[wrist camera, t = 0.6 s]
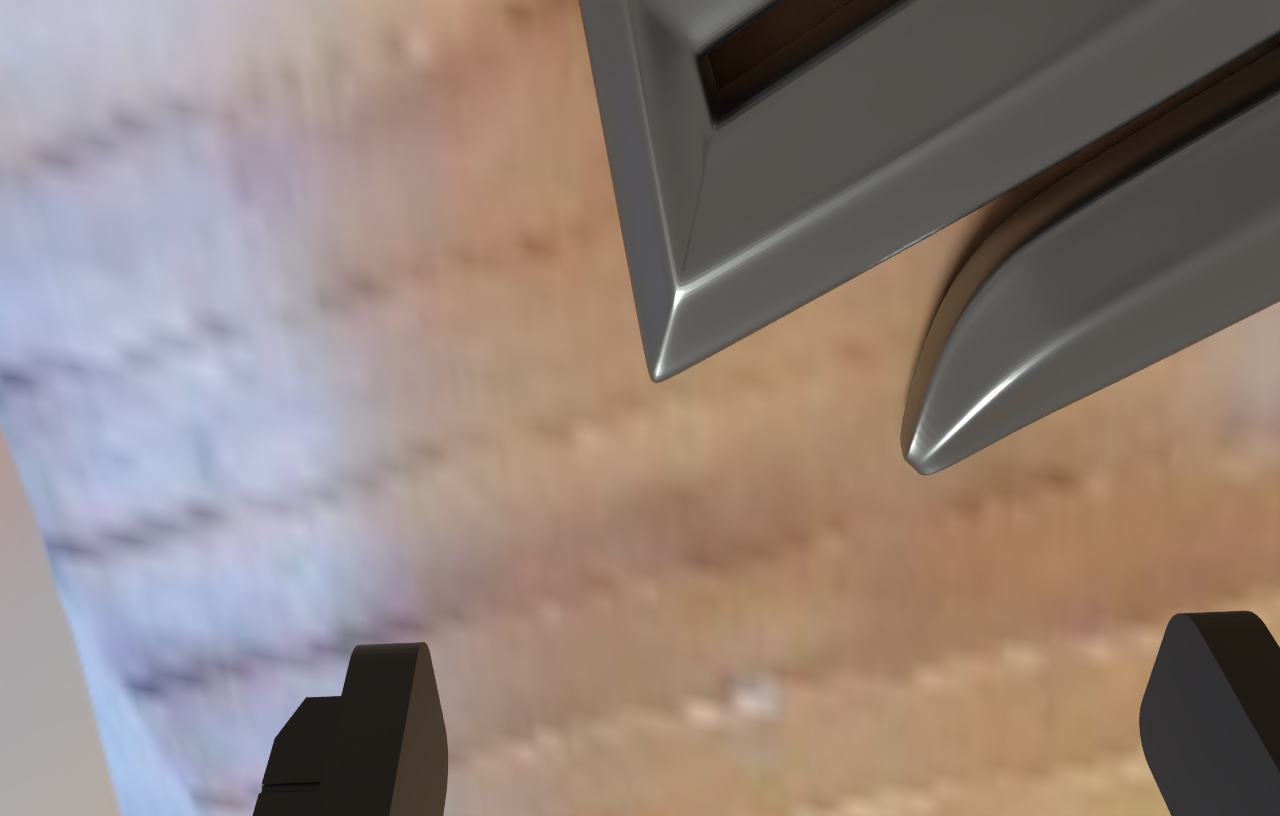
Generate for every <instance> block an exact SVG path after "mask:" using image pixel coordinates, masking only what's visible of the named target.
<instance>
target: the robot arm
mask: <svg viewBox="0 0 1280 816" xmlns="http://www.w3.org/2000/svg"><path fill="white" fill-rule="evenodd" d="M1139 726H1140V737H1141V742H1142V747H1143V751H1144V755H1145V758H1146V761H1147V763H1148V765H1149V768H1150V770H1151V772H1152V774H1153V777H1154V779H1155V781H1156V783H1157V785H1158V787H1159V790H1160V792H1161V794H1162V796H1163V798H1164V800H1165V803H1166V805H1167V807H1168V809H1169V811H1170V814H1171V816H1280V647H1279V646H1278V644H1277V643H1276V641H1275V639H1274V638H1273V636H1272V635H1271V633H1270V632H1269V630H1268V628H1267V627H1266V625H1265V624H1264V623H1263V621H1262V620H1261V619H1260V618H1259V617H1258V616H1257V615H1256V614H1254V613H1253V612H1250V611H1228V612H1204V613H1180V614H1176V615H1174V616H1173V617H1172V618H1171V619H1170V621H1169V623H1168V625H1167V628H1166V631H1165V634H1164V637H1163V640H1162V643H1161V646H1160V649H1159V652H1158V655H1157V658H1156V661H1155V664H1154V667H1153V670H1152V673H1151V676H1150V679H1149V682H1148V685H1147V688H1146V691H1145V694H1144V697H1143V700H1142V703H1141V707H1140V717H1139ZM447 779H448V746H447V735H446V729H445V724H444V719H443V714H442V709H441V704H440V700H439V695H438V690H437V685H436V680H435V675H434V670H433V665H432V661H431V656H430V652H429V648H428V646H427V644H426V643H425V642H419V643H395V644H371V645H357V646H356V647H355V648H354V650H353V652H352V655H351V658H350V662H349V666H348V670H347V674H346V678H345V683H344V687H343V691H342V695H341V696H331V697H307V698H305V700H304V701H303V702H302V703H301V705H300V706H299V707H298V709H297V710H296V711H295V713H294V714H293V715H292V717H291V718H290V719H289V721H288V722H287V723H286V724H285V726H284V727H283V728H282V730H281V731H280V732H279V734H278V735H277V736H276V738H275V740H274V743H273V747H272V750H271V754H270V757H269V761H268V764H267V767H266V771H265V774H264V778H263V781H262V792H261V793H259V795H258V799H257V802H256V806H255V809H254V813H253V816H443V813H444V806H445V798H446V790H447Z"/></svg>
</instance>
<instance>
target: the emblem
mask: <svg viewBox="0 0 1280 816" xmlns="http://www.w3.org/2000/svg"><path fill="white" fill-rule="evenodd" d="M783 1H784V0H579V5H580V10H581V16H582V21H583V27H584V32H585V37H586V43H587V48H588V53H589V59H590V64H591V70H592V75H593V80H594V86H595V91H596V97H597V102H598V107H599V113H600V118H601V124H602V129H603V134H604V140H605V145H606V150H607V156H608V161H609V167H610V172H611V177H612V183H613V188H614V194H615V199H616V204H617V210H618V215H619V221H620V226H621V231H622V237H623V242H624V247H625V253H626V258H627V264H628V269H629V274H630V280H631V285H632V291H633V296H634V301H635V307H636V312H637V318H638V323H639V328H640V334H641V339H642V344H643V349H644V354H645V359H646V364H647V368H648V372H649V376H650V378H651V380H652V381H653V382H654V383H659V382H662V381H665V380H667V379H669V378H671V377H673V376H675V375H677V374H679V373H681V372H683V371H685V370H687V369H689V368H690V367H692V366H694V365H696V364H698V363H700V362H702V361H703V360H705V359H707V358H709V357H711V356H713V355H714V354H716V353H718V352H720V351H722V350H724V349H725V348H727V347H729V346H731V345H733V344H735V343H736V342H738V341H740V340H742V339H744V338H746V337H747V336H749V335H751V334H753V333H755V332H757V331H758V330H760V329H762V328H764V327H766V326H767V325H769V324H771V323H773V322H775V321H777V320H778V319H780V318H782V317H784V316H786V315H788V314H789V313H791V312H793V311H795V310H797V309H799V308H800V307H802V306H804V305H806V304H808V303H809V302H811V301H813V300H815V299H817V298H819V297H820V296H822V295H824V294H826V293H828V292H829V291H831V290H833V289H835V288H837V287H839V286H840V285H842V284H844V283H846V282H848V281H849V280H851V279H853V278H855V277H857V276H859V275H860V274H862V273H864V272H866V271H868V270H869V269H871V268H873V267H875V266H877V265H878V264H880V263H882V262H884V261H886V260H888V259H889V258H891V257H893V256H895V255H897V254H898V253H900V252H902V251H904V250H906V249H907V248H909V247H911V246H913V245H915V244H916V243H918V242H920V241H922V240H924V239H925V238H927V237H929V236H931V235H933V234H934V233H936V232H938V231H940V230H942V229H943V228H945V227H947V226H949V225H950V224H952V223H954V222H956V221H958V220H959V219H961V218H963V217H965V216H967V215H968V214H970V213H972V212H974V211H975V210H977V209H979V208H981V207H983V206H984V205H986V204H988V203H990V202H991V201H993V200H995V199H997V198H999V197H1000V196H1002V195H1004V194H1006V193H1007V192H1009V191H1011V190H1013V189H1014V188H1016V187H1018V186H1020V185H1021V184H1023V183H1025V182H1027V181H1029V180H1030V179H1032V178H1034V177H1036V176H1037V175H1039V174H1041V173H1043V172H1044V171H1046V170H1048V169H1050V168H1051V167H1053V166H1055V165H1057V164H1058V163H1060V162H1062V161H1064V160H1065V159H1067V158H1069V157H1071V156H1072V155H1074V154H1076V153H1078V152H1079V151H1081V150H1083V149H1084V148H1086V147H1088V146H1090V145H1091V144H1093V143H1095V142H1097V141H1098V140H1100V139H1102V138H1104V137H1105V136H1107V135H1109V134H1110V133H1112V132H1114V131H1116V130H1117V129H1119V128H1121V127H1123V126H1124V125H1126V124H1128V123H1129V122H1131V121H1133V120H1135V119H1136V118H1138V117H1140V116H1141V115H1143V114H1145V113H1147V112H1148V111H1150V110H1152V109H1153V108H1155V107H1157V106H1158V105H1160V104H1162V103H1164V102H1165V101H1167V100H1169V99H1170V98H1172V97H1174V96H1175V95H1177V94H1179V93H1181V92H1182V91H1184V90H1186V89H1187V88H1189V87H1191V86H1192V85H1194V84H1196V83H1197V82H1199V81H1201V80H1202V79H1204V78H1206V77H1207V76H1209V75H1211V74H1212V73H1214V72H1216V71H1217V70H1219V69H1221V68H1222V67H1224V66H1226V65H1227V64H1229V63H1231V62H1232V61H1234V60H1236V59H1237V58H1239V57H1241V56H1242V55H1244V54H1246V53H1247V52H1249V51H1251V50H1252V49H1254V48H1256V47H1257V46H1259V45H1261V44H1262V43H1264V42H1266V41H1267V40H1269V39H1270V38H1272V37H1274V36H1275V35H1277V34H1279V33H1280V0H853V1H852V2H850V3H849V4H847V5H846V6H844V7H843V8H841V9H840V10H838V11H837V12H835V13H834V14H832V15H831V16H829V17H828V18H826V19H825V20H823V21H822V22H820V23H819V24H817V25H816V26H814V27H813V28H811V29H810V30H808V31H807V32H805V33H804V34H802V35H801V36H799V37H798V38H796V39H795V40H793V41H792V42H790V43H789V44H787V45H786V46H784V47H783V48H781V49H780V50H778V51H777V52H775V53H774V54H772V55H771V56H769V57H768V58H766V59H765V60H764V61H762V62H761V63H759V64H758V65H756V66H755V67H753V68H752V69H750V70H749V71H747V72H746V73H744V74H743V75H741V76H740V77H738V78H737V79H735V80H734V81H732V82H731V83H729V84H727V85H726V86H724V87H723V88H721V89H719V90H718V88H717V85H716V82H715V78H714V74H713V71H712V67H711V64H710V60H709V56H708V54H709V53H710V52H712V51H713V50H714V49H716V48H717V47H718V46H720V45H721V44H723V43H724V42H725V41H727V40H728V39H730V38H731V37H733V36H734V35H735V34H737V33H738V32H740V31H741V30H743V29H744V28H745V27H747V26H748V25H750V24H751V23H753V22H754V21H755V20H757V19H758V18H760V17H761V16H763V15H764V14H766V13H767V12H768V11H770V10H771V9H773V8H774V7H776V6H777V5H778V4H780V3H781V2H783ZM1278 302H1280V46H1279V47H1277V48H1276V49H1274V50H1273V51H1271V52H1269V53H1268V54H1266V55H1265V56H1263V57H1261V58H1260V59H1258V60H1256V61H1255V62H1253V63H1251V64H1250V65H1248V66H1246V67H1245V68H1243V69H1241V70H1239V71H1238V72H1236V73H1234V74H1233V75H1231V76H1229V77H1228V78H1226V79H1224V80H1223V81H1221V82H1219V83H1218V84H1216V85H1214V86H1213V87H1211V88H1209V89H1208V90H1206V91H1204V92H1202V93H1201V94H1199V95H1197V96H1196V97H1194V98H1192V99H1191V100H1189V101H1187V102H1186V103H1184V104H1182V105H1181V106H1179V107H1177V108H1176V109H1174V110H1172V111H1171V112H1169V113H1167V114H1166V115H1164V116H1162V117H1161V118H1159V119H1157V120H1156V121H1154V122H1152V123H1151V124H1149V125H1147V126H1146V127H1144V128H1142V129H1141V130H1139V131H1137V132H1136V133H1134V134H1133V135H1131V136H1129V137H1128V138H1126V139H1124V140H1123V141H1121V142H1119V143H1118V144H1116V145H1115V146H1113V147H1111V148H1110V149H1108V150H1106V151H1105V152H1103V153H1102V154H1100V155H1098V156H1097V157H1095V158H1094V159H1092V160H1090V161H1089V162H1087V163H1086V164H1084V165H1083V166H1081V167H1079V168H1078V169H1076V170H1075V171H1073V172H1072V173H1070V174H1069V175H1067V176H1065V177H1064V178H1062V179H1061V180H1059V181H1058V182H1056V183H1055V184H1053V185H1052V186H1050V187H1049V188H1047V189H1046V190H1044V191H1043V192H1042V193H1040V194H1039V195H1037V196H1036V197H1034V198H1033V199H1032V200H1030V201H1029V202H1028V203H1026V204H1025V205H1023V206H1022V207H1021V208H1019V209H1018V210H1017V211H1016V212H1014V213H1013V214H1012V215H1011V216H1009V217H1008V218H1007V219H1006V220H1005V221H1004V222H1002V223H1001V224H1000V225H999V226H998V227H997V228H996V229H995V230H994V231H993V232H992V233H991V234H990V235H989V236H988V237H987V238H986V239H985V240H984V241H983V243H982V244H981V245H980V246H979V247H978V248H977V250H976V251H975V252H974V253H973V255H972V256H971V257H970V259H969V260H968V261H967V263H966V264H965V266H964V267H963V268H962V270H961V271H960V273H959V274H958V276H957V277H956V279H955V281H954V282H953V284H952V285H951V287H950V289H949V291H948V292H947V294H946V296H945V298H944V300H943V302H942V304H941V306H940V308H939V310H938V312H937V314H936V316H935V319H934V321H933V323H932V326H931V328H930V331H929V333H928V336H927V338H926V341H925V344H924V347H923V349H922V352H921V355H920V358H919V361H918V364H917V368H916V371H915V374H914V377H913V381H912V384H911V388H910V391H909V395H908V399H907V403H906V407H905V411H904V416H903V421H902V426H901V436H900V441H901V449H902V454H903V457H904V459H905V461H906V462H908V463H909V464H910V465H911V466H912V467H913V468H914V469H915V470H916V471H917V472H918V473H919V474H921V475H930V474H934V473H936V472H939V471H941V470H944V469H946V468H948V467H950V466H952V465H954V464H956V463H958V462H959V461H961V460H963V459H965V458H967V457H969V456H971V455H973V454H975V453H976V452H978V451H980V450H982V449H984V448H986V447H988V446H989V445H991V444H993V443H995V442H997V441H999V440H1001V439H1003V438H1004V437H1006V436H1008V435H1010V434H1012V433H1014V432H1016V431H1018V430H1020V429H1021V428H1023V427H1025V426H1027V425H1029V424H1031V423H1033V422H1035V421H1037V420H1039V419H1041V418H1043V417H1045V416H1047V415H1049V414H1051V413H1053V412H1055V411H1058V410H1060V409H1062V408H1064V407H1066V406H1068V405H1070V404H1072V403H1074V402H1076V401H1078V400H1080V399H1082V398H1085V397H1087V396H1089V395H1091V394H1093V393H1095V392H1097V391H1099V390H1101V389H1103V388H1105V387H1107V386H1110V385H1112V384H1114V383H1116V382H1118V381H1120V380H1122V379H1124V378H1126V377H1128V376H1130V375H1132V374H1134V373H1136V372H1138V371H1140V370H1142V369H1144V368H1146V367H1149V366H1151V365H1153V364H1155V363H1157V362H1159V361H1161V360H1163V359H1165V358H1167V357H1169V356H1171V355H1173V354H1175V353H1177V352H1179V351H1181V350H1183V349H1185V348H1187V347H1189V346H1191V345H1193V344H1195V343H1197V342H1199V341H1201V340H1203V339H1205V338H1207V337H1209V336H1211V335H1213V334H1215V333H1217V332H1219V331H1221V330H1223V329H1225V328H1227V327H1229V326H1231V325H1233V324H1235V323H1237V322H1239V321H1241V320H1243V319H1245V318H1247V317H1249V316H1251V315H1253V314H1255V313H1257V312H1259V311H1262V310H1264V309H1266V308H1268V307H1270V306H1272V305H1274V304H1276V303H1278Z"/></svg>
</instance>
